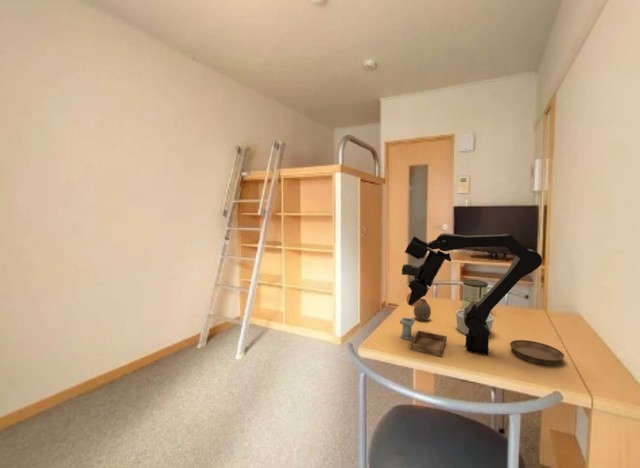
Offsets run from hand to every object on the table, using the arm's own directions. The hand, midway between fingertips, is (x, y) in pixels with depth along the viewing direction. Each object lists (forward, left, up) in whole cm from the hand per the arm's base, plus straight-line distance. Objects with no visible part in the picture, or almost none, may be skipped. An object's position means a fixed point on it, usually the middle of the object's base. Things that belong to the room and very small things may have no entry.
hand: (410, 303), depth 115 cm
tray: (-8, +3, -13) cm, 15 cm away
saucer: (-40, -7, -14) cm, 43 cm away
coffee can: (-20, -45, -13) cm, 51 cm away
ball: (-1, 0, +2) cm, 2 cm away
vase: (-1, -22, -13) cm, 26 cm away
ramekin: (-21, -19, -13) cm, 31 cm away
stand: (+1, 0, -13) cm, 13 cm away
